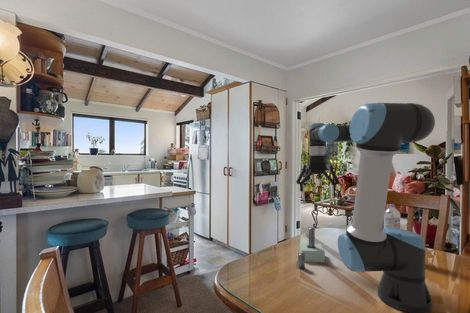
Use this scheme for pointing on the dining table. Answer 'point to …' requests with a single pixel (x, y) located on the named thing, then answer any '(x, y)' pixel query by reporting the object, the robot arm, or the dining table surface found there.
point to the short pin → (301, 260)
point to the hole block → (313, 253)
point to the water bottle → (392, 217)
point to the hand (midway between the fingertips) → (317, 198)
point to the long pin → (311, 237)
